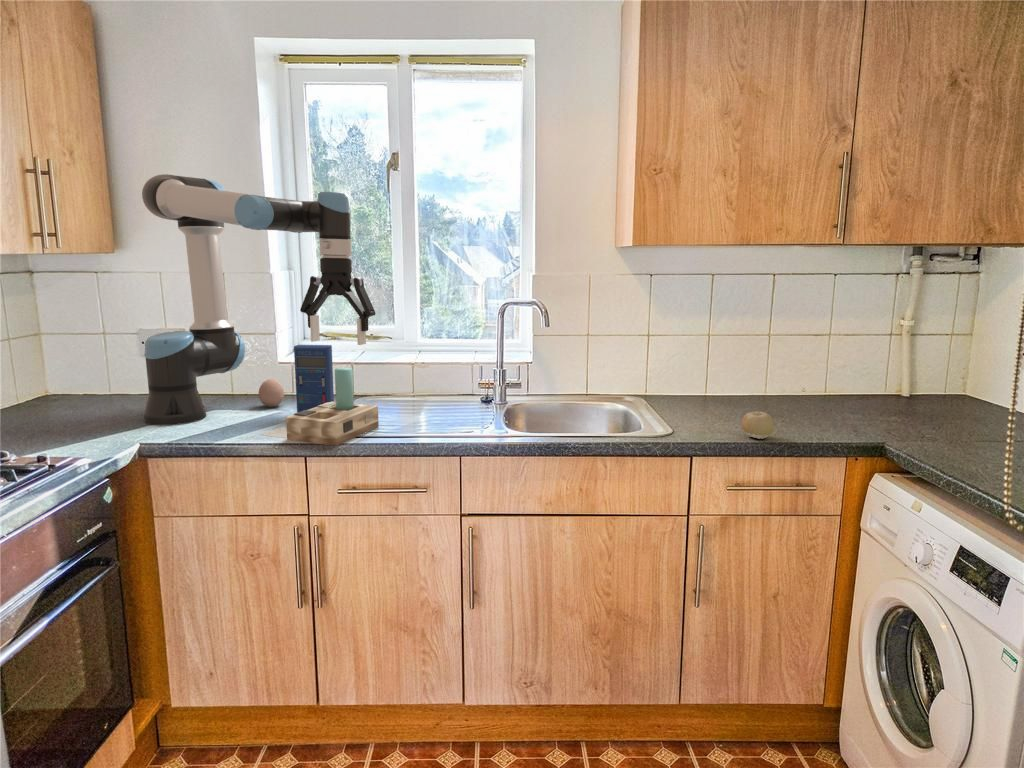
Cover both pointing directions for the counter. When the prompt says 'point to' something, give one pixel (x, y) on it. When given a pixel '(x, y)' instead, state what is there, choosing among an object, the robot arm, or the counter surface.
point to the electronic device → (313, 376)
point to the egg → (271, 393)
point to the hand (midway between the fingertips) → (338, 342)
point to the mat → (277, 433)
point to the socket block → (331, 424)
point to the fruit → (757, 423)
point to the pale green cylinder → (344, 389)
